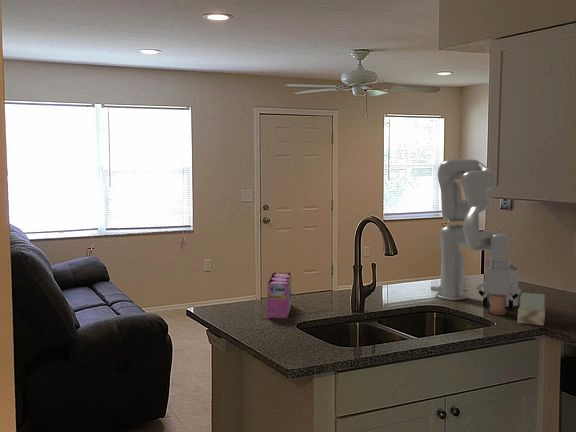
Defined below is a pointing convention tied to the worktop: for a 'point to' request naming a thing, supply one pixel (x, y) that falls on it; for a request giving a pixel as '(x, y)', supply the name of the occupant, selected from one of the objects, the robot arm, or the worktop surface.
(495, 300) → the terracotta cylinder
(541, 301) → the sage block
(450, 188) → the robot arm
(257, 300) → the worktop surface
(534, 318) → the birch block
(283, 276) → the gum box
